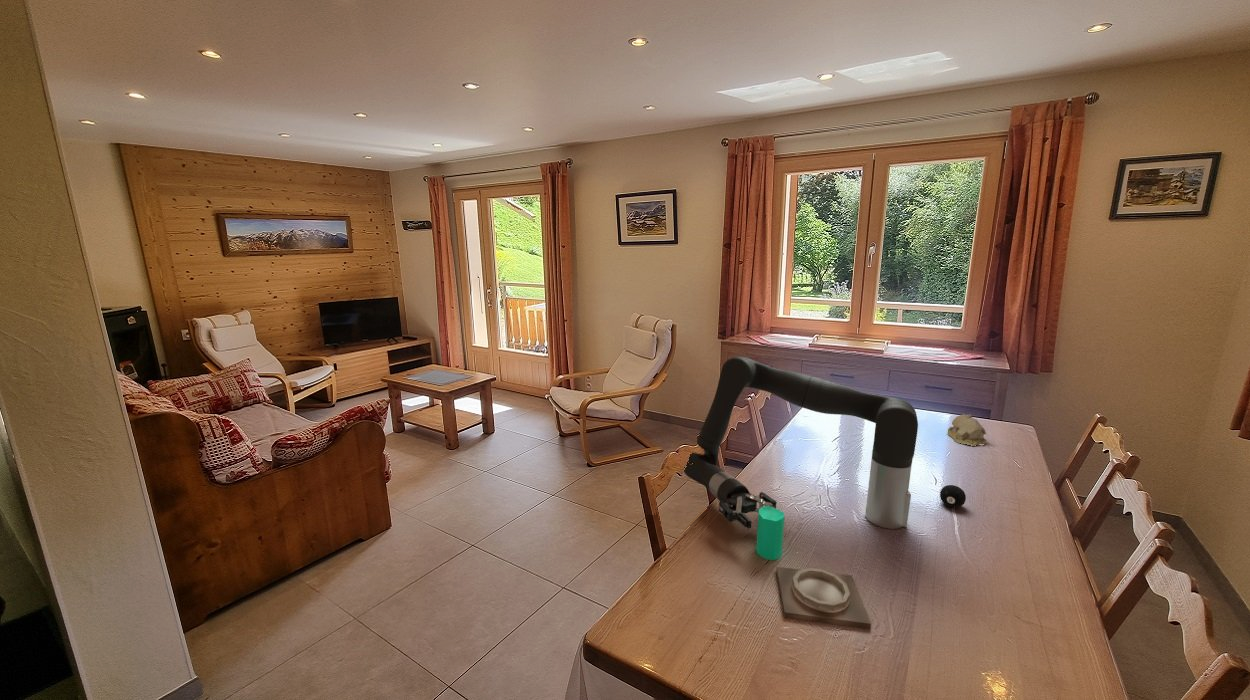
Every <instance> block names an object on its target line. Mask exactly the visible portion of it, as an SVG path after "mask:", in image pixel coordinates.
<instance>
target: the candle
mask: <svg viewBox="0 0 1250 700" xmlns="http://www.w3.org/2000/svg"><path fill="white" fill-rule="evenodd" d="M757 513H758V515H757V533H756V547H755V548H756V549H755V550H756V553H757V555H759V557H761V558H763V559H765V560H770V561H771V560H772V561H775V560H778V559H780V558H781V557H782V555H783V545H784V544H783V542H784V532H785V531H784V530H785V529H784V528H785V513H784V512H783V511H782V510H780V509H778V508H777V507H776V508H774V507H770V506H763V507H762V508H760V509H759V512H757Z"/></svg>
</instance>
